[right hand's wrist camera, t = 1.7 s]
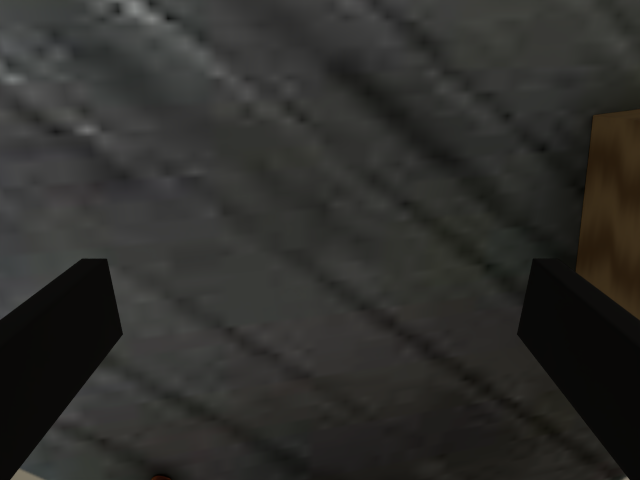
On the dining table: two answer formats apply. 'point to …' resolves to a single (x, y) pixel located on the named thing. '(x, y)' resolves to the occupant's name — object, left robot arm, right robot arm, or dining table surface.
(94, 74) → the dining table surface
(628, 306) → the bar
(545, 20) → the dining table surface
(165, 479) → the figurine
